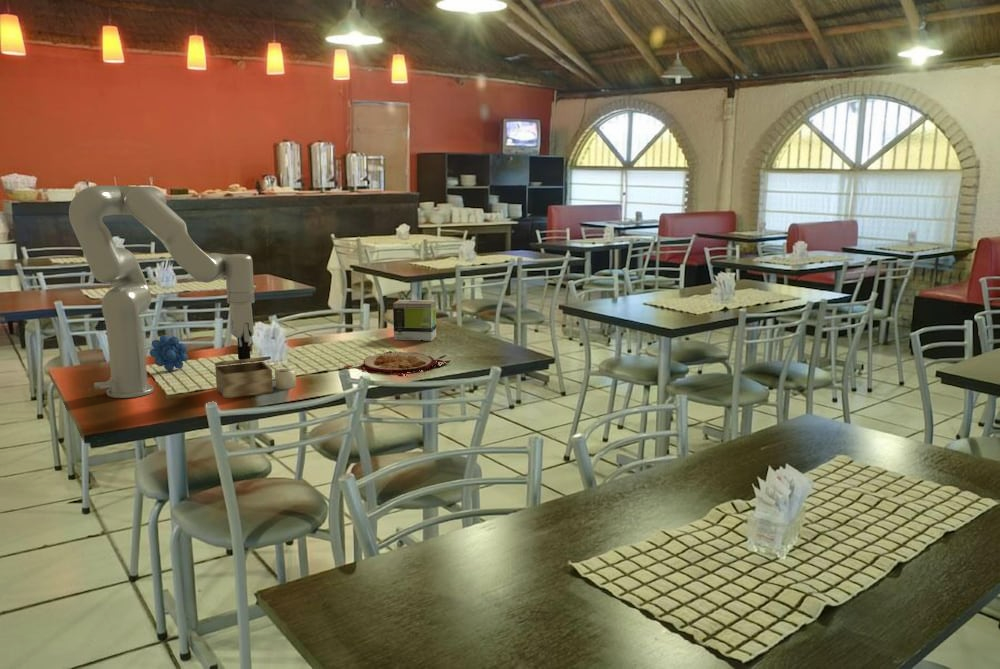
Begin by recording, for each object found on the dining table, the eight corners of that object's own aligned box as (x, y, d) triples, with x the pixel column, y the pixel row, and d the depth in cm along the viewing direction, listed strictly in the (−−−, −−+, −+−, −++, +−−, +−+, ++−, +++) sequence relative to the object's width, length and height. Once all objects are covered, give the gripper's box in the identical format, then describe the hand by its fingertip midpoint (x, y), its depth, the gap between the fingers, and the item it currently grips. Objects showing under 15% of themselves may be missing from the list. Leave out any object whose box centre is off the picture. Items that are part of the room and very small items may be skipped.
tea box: (436, 336, 323) (436, 299, 320) (431, 341, 313) (431, 303, 310) (399, 335, 325) (399, 298, 322) (393, 340, 315) (392, 302, 312)
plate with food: (390, 356, 292) (390, 346, 291) (450, 364, 278) (450, 354, 277) (342, 371, 272) (342, 361, 271) (404, 380, 258) (404, 370, 257)
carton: (223, 398, 235) (222, 374, 234) (216, 389, 244) (215, 366, 243) (272, 392, 242) (271, 369, 240) (264, 383, 251) (262, 361, 250)
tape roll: (278, 390, 244) (277, 373, 243) (273, 385, 249) (272, 369, 248) (298, 387, 247) (297, 371, 246) (293, 383, 252) (292, 367, 251)
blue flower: (154, 375, 259) (151, 338, 257) (149, 371, 265) (146, 335, 263) (192, 371, 266) (189, 334, 263) (187, 366, 271) (184, 331, 269)
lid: (221, 364, 233) (221, 361, 233) (215, 365, 243) (215, 363, 243) (271, 359, 240) (270, 356, 240) (263, 360, 249) (262, 358, 249)
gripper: (222, 294, 240) (225, 355, 244) (232, 302, 228) (236, 366, 231) (248, 292, 244) (251, 352, 248) (260, 300, 231) (263, 363, 235)
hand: (244, 359), depth 239 cm, fingers closed
